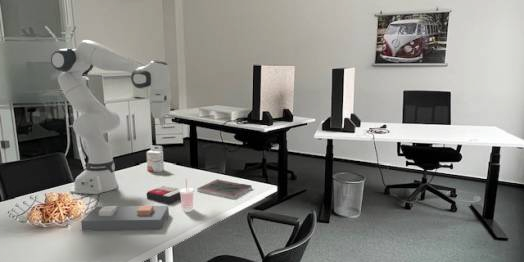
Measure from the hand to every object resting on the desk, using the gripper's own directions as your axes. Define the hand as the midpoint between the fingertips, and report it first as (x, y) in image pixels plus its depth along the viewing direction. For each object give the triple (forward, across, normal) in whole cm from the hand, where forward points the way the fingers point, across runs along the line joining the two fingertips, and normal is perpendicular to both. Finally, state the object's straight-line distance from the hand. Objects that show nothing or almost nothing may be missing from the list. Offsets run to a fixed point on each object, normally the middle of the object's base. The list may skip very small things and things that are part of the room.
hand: (162, 125), depth 177 cm
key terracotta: (+32, +34, 0) cm, 46 cm away
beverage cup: (+34, +22, +14) cm, 43 cm away
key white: (+32, +34, -15) cm, 49 cm away
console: (+34, +34, -8) cm, 48 cm away
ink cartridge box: (+34, -38, -15) cm, 53 cm away
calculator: (+34, +6, +2) cm, 35 cm away
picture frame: (+35, -3, +29) cm, 45 cm away
